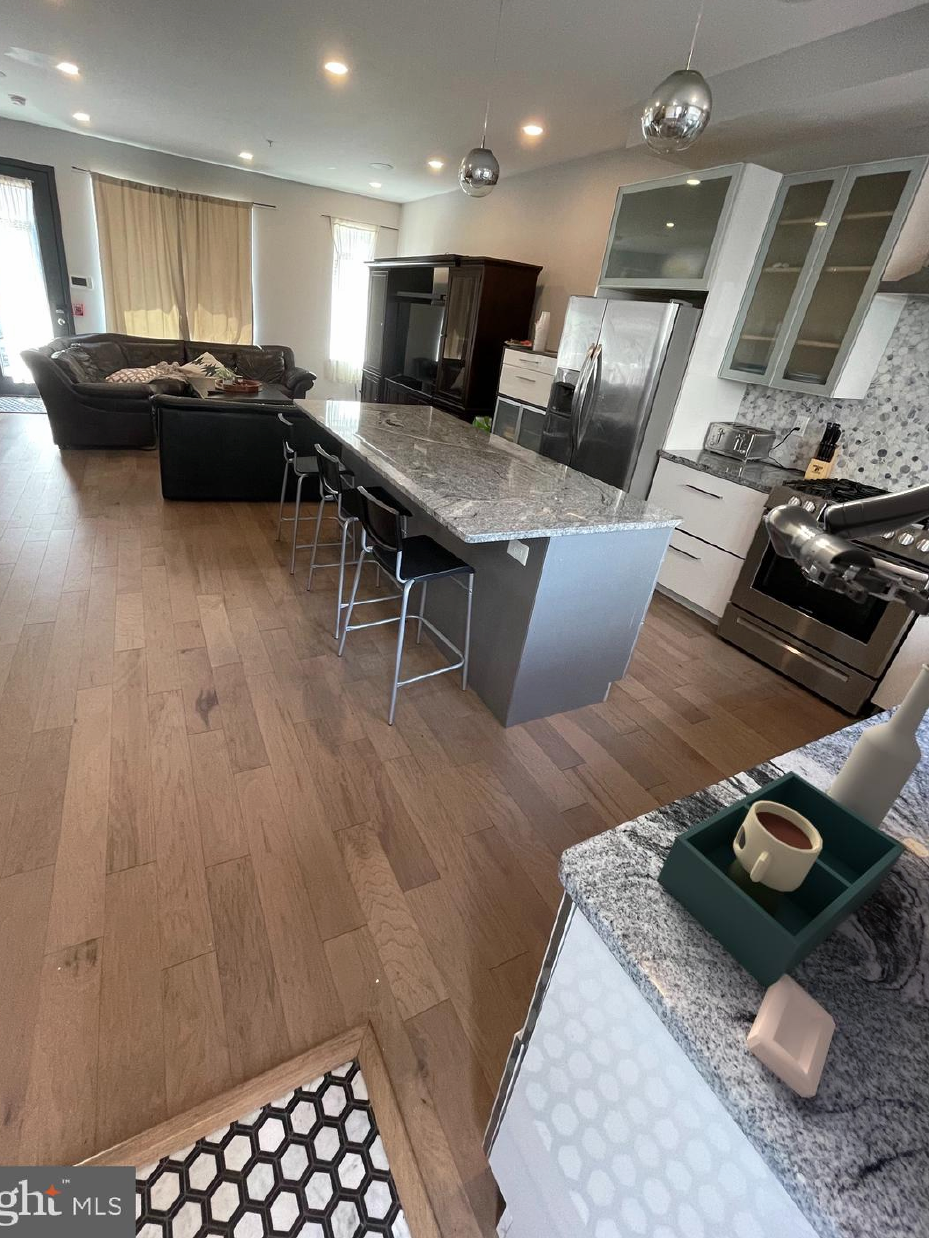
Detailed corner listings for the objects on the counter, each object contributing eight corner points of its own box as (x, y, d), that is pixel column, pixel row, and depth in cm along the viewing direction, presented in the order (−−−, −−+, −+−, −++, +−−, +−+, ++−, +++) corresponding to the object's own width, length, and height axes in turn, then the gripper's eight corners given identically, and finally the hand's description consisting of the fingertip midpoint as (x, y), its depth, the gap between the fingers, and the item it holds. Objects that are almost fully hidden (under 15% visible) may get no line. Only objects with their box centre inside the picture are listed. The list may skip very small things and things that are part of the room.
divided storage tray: (771, 808, 82) (791, 770, 80) (878, 888, 72) (906, 848, 69) (656, 879, 68) (675, 836, 65) (769, 993, 57) (798, 947, 55)
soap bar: (822, 1028, 56) (838, 1019, 55) (799, 1106, 50) (816, 1098, 49) (771, 978, 59) (785, 968, 57) (742, 1045, 53) (757, 1036, 51)
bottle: (823, 838, 78) (919, 674, 68) (808, 804, 84) (895, 649, 73) (875, 855, 77) (983, 690, 66) (857, 820, 83) (953, 663, 72)
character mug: (730, 859, 72) (768, 784, 67) (789, 901, 67) (835, 824, 62) (695, 906, 65) (734, 826, 60) (758, 957, 60) (807, 875, 55)
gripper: (800, 533, 92) (855, 570, 77) (890, 549, 91) (963, 589, 76) (782, 573, 95) (832, 616, 80) (869, 590, 94) (936, 636, 79)
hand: (896, 603), depth 78 cm, fingers open, 8 cm apart
